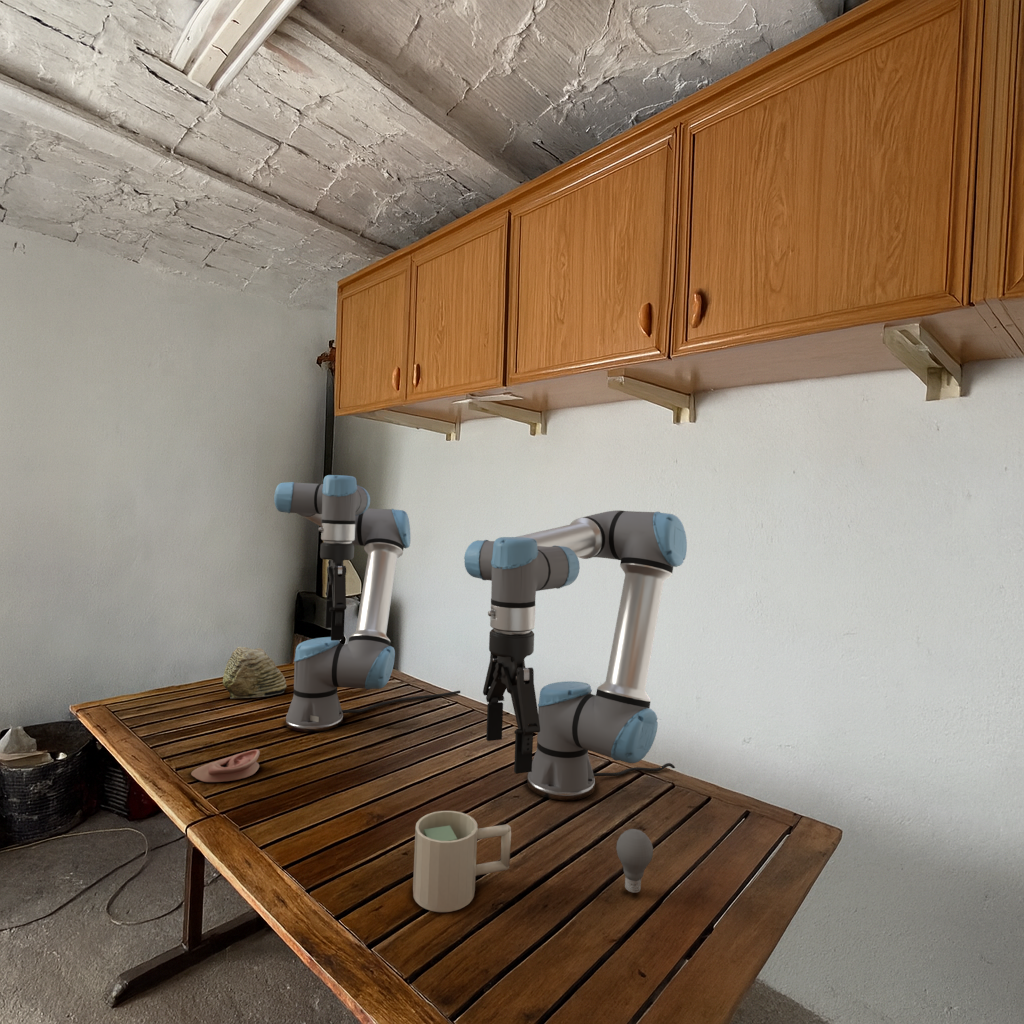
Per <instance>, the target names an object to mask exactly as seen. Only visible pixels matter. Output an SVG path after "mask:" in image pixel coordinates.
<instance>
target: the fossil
mask: <svg viewBox="0 0 1024 1024" xmlns="http://www.w3.org/2000/svg"><path fill="white" fill-rule="evenodd" d="M222 676H223V677H222V685H223V687H224V688H225V690H226V691H228V693H229V698H230V699H250V698H264V697H271V696H275V695H281V694H284V693H285V691H286V689H287V687H288V686H287V680H286V678H285V676H284V674H283V673H282V672H281V669H279V668H278V667H277V665H276V663H275V662H274V660H273V659H272V658H271V657H270V656H269V655H268V654H267V653H266V652H265V650H264V649H263V648H260V647H258V648H251V647H247V646H246V647H245V646H238V647H237V648H236V649H235V650H233V651H232V653H231V656H230V657H229V659H228V660H227V663H226V666H225V668H224V671H223V675H222Z"/></svg>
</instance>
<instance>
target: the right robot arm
mask: <svg viewBox="0 0 1024 1024" xmlns="http://www.w3.org/2000/svg"><path fill="white" fill-rule="evenodd" d="M687 541H688V540H687V534H686V530H685V527H684V525H683V522H682V520H681V519H680V517H678V516H677V515H675V514H673V513H666V512H660V511H635V510H633V511H632V510H620V509H619V510H608V511H604V512H599V513H594V514H590V515H587V516H581V517H577V518H575V519H574V520H572V522H570V523H569V524H567V525H561V526H559V527H554V528H549V529H545V530H539V531H536V532H531V533H526V534H523V535H518V536H502V537H501V536H499V537H498V538H496V539H495V540H489V539H484V540H482V539H481V540H479V539H478V540H475V541H472V542H471V543H470V544H469V545H468V546H467V548H466V549H465V553H464V556H463V559H464V562H463V563H464V568H465V571H466V572H467V574H468V575H469V576H470V577H472V578H475V579H481V580H482V581H491V589H490V590H491V592H490V594H491V595H490V596H491V597H490V610H488V611H487V616H488V617H489V620H490V621H489V626H490V627H491V628H492V629H491V630H490V631H489V638H488V639H489V640H488V641H489V642H488V650H489V652H490V653H489V655H490V657H489V658H490V659H489V663H488V667H487V672H486V676H485V680H484V685H483V688H482V689H483V690H482V695H483V696H485V700H486V702H487V705H486V706H487V707H486V709H487V710H486V733H485V734H486V736H485V739H486V741H487V742H492V741H499V740H500V741H501V740H503V721H504V720H503V719H504V718H503V717H504V701H505V697H504V694H505V692H507V693H508V694H510V698H511V702H512V708H513V712H514V718H515V722H516V726H517V728H516V729H515V730H514V731H513V733H514V736H515V737H514V738H515V739H514V740H515V741H514V766H513V767H514V768H513V772H514V774H515V775H516V774H517V775H518V774H524V773H527V781H526V782H527V787H528V788H529V789H530V790H531V791H532V792H533V793H535V794H536V795H539V796H541V797H544V798H547V799H550V800H557V801H578V800H580V799H581V800H582V799H585V798H587V797H589V796H590V795H592V794H593V793H594V791H595V785H596V779H595V777H620V776H622V775H623V776H624V775H626V774H627V773H630V772H635V771H638V772H639V771H640V772H660V771H662V770H664V769H666V768H668V767H670V768H672V769H676V767H675V765H674V764H673V763H671V762H666V763H664V764H663V765H661V766H659V767H640V766H639V767H638V766H637V767H635V766H634V767H629V768H626V769H623V770H621V771H618V772H594V771H593V767H592V764H591V760H590V756H589V752H593V753H595V754H599V755H602V756H605V757H608V758H611V759H613V760H614V761H616V762H617V761H620V762H622V763H628V764H636V763H639V762H640V761H642V760H643V759H644V758H645V757H646V756H647V755H648V754H649V752H650V750H651V748H652V746H653V744H654V741H655V739H656V736H657V731H658V724H659V723H658V715H657V713H656V712H655V710H653V709H652V708H650V707H651V702H652V699H651V698H650V696H649V695H648V693H647V691H646V687H647V681H648V676H649V671H650V670H649V669H650V664H651V659H652V658H651V657H652V652H653V648H654V647H653V646H654V642H655V641H654V640H655V635H656V631H657V630H656V629H657V623H658V617H659V611H660V606H661V600H662V595H663V588H664V583H665V581H667V580H668V579H670V578H671V577H672V576H673V572H674V568H677V567H680V566H682V565H683V563H684V561H685V559H686V557H687V552H688V551H687V550H688V542H687ZM592 558H598V559H599V558H600V559H609V560H615V561H620V563H619V567H620V568H621V570H622V571H623V573H624V579H623V585H622V589H621V596H620V599H619V600H620V601H619V607H618V612H617V617H616V621H615V622H616V623H615V629H614V633H613V639H612V645H611V649H610V656H609V660H608V667H607V670H606V671H607V672H606V676H605V681H604V682H603V683H601V684H600V685H599V686H597V688H596V693H595V694H593V693H592V691H593V689H592V686H591V685H590V684H589V683H587V682H584V681H575V680H574V681H571V680H570V681H569V680H567V681H566V680H565V681H557V682H552V683H548V684H546V685H544V686H543V687H542V688H541V689H540V691H539V698H538V702H537V696H536V688H535V675H534V674H535V672H534V671H535V670H534V668H533V667H526V663H525V659H526V658H527V657H529V656H531V655H533V654H534V650H535V633H534V631H533V630H534V629H535V627H536V608H537V605H536V594H537V592H539V591H546V590H547V591H548V590H553V589H554V590H555V589H557V590H558V589H559V590H560V589H561V588H564V587H567V586H570V585H572V584H573V583H574V582H575V581H576V580H577V578H578V577H579V574H580V559H583V560H589V559H592ZM534 734H537V736H536V737H537V739H536V751H535V753H534V757H533V746H534ZM660 767H662V768H660Z"/></svg>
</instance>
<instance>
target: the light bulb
mask: <svg viewBox="0 0 1024 1024" xmlns="http://www.w3.org/2000/svg"><path fill="white" fill-rule="evenodd" d="M615 849H616V854H617V857H618V859H619V861H620V863H621V865H622V867H623V873H624V874H623V875H624V876H625V878H624V888H625V890H627V891H628V892H630V893H634V894H635V893H639V892H640V891H641V889H642V887H641V886H642V879H643V877H644V875H645V871H646V868H647V867H648V866H649V864H650V863H651V861H652V859H653V855H654V847H653V843H652V841H651V838H649V836H648V835H647V834H646V833H645V832H643V831H642V830H641V829H636V828H629V829H627V830H625V831H623V832H622V833H621V834H620V835H619V837H618V839H617V841H616V847H615Z"/></svg>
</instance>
